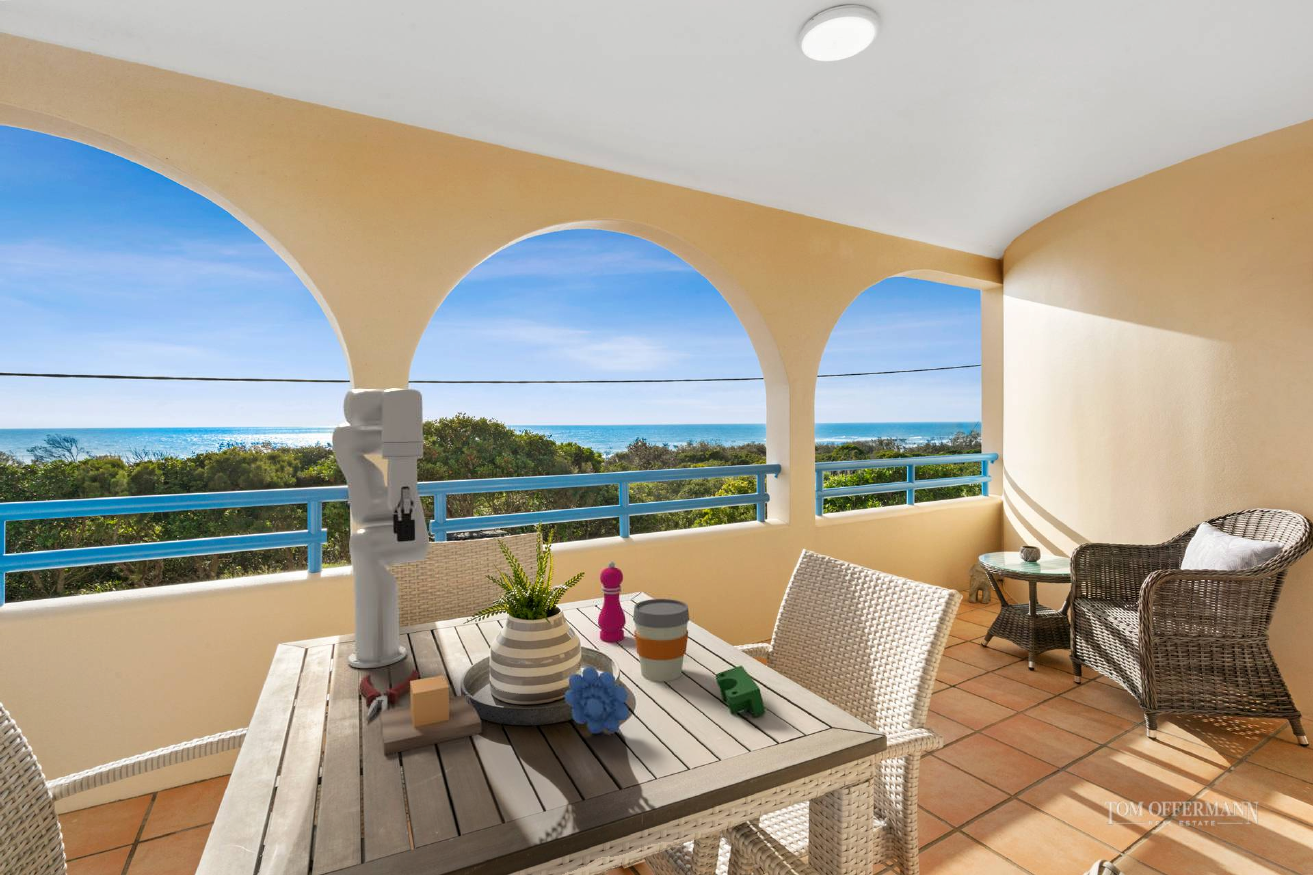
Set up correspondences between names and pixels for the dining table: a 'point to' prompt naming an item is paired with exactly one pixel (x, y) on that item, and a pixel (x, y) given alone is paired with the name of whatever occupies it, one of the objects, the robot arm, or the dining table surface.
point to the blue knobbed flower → (597, 700)
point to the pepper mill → (611, 605)
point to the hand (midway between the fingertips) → (403, 536)
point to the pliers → (389, 696)
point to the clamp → (740, 691)
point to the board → (427, 727)
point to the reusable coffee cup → (661, 637)
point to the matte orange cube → (429, 700)
